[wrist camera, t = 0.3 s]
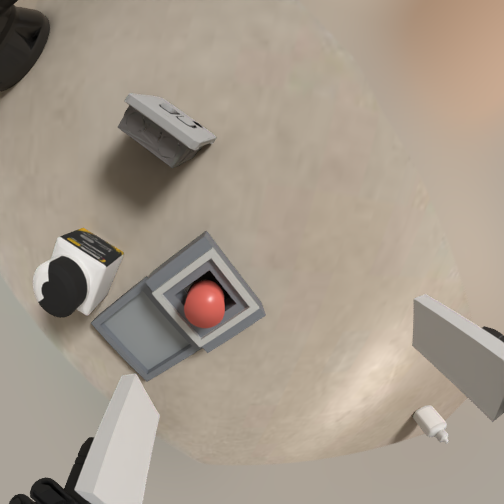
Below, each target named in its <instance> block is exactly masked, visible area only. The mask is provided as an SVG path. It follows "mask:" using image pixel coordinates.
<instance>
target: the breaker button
mask: <svg viewBox="0 0 504 504" xmlns="http://www.w3.org/2000/svg"><path fill="white" fill-rule="evenodd" d="M184 313H185V316H186V318H187V319H188V321H189V322H190V323H191V324H193V325H195V326H197V327H200V328H211V327H214V326H216V325H217V324H219V323H220V322H221V320H222V319H223V317H224V313H225V304H224V293H223V290H222V288H221V287H220V286H219V285H218V284H217V283H215V282H213V281H211V280H200V281H197V282H196V283H194V284H193V285H192V286H191V287H190V289H189V291H188V295H187V298H186V302H185V306H184Z"/></svg>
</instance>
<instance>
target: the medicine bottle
mask: <svg viewBox="0 0 504 504" xmlns="http://www.w3.org/2000/svg"><path fill="white" fill-rule="evenodd" d="M123 256H124V252H123V251H121V250H120V249H118V248H116V247H114V246H113V245H111V244H109V243H108V242H106V241H104V240H103V239H101V238H99V237H98V236H96V235H95V234H93V233H91V232H90V231H88V230H87V229H85V228H81V229H79V230H76V231H73V232H71V233H68V234H65V235H63V236H60V237H58V238H57V241H56V244H55V247H54V250H53V253H52V257H51V259H50V260H48V261H46V262H44V263H42V264H41V265H39V266H38V268H37V269H36V271H35V273H34V276H33V290H34V294H35V297H36V299H37V301H38V303H39V304H40V305H41V307H42V308H43V309H44V310H45V311H46V312H48V313H49V314H51V315H53V316H56V317H67V316H69V315H71V314H72V313H73V312H74V311H75V310H76V309H77V310H78V311H80V312H81V313H83V314H84V315H86V316H87V315H89V314H90V313H91V312H92V311H93V310H94V309H95V308H96V306H97V305H98V304H99V303H100V302H101V301H102V300H103V299H104V298H105V297H106V296H107V294H108V292H109V289H110V287H111V284H112V282H113V279H114V277H115V274H116V272H117V270H118V267H119V265H120V263H121V260H122V258H123Z"/></svg>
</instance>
